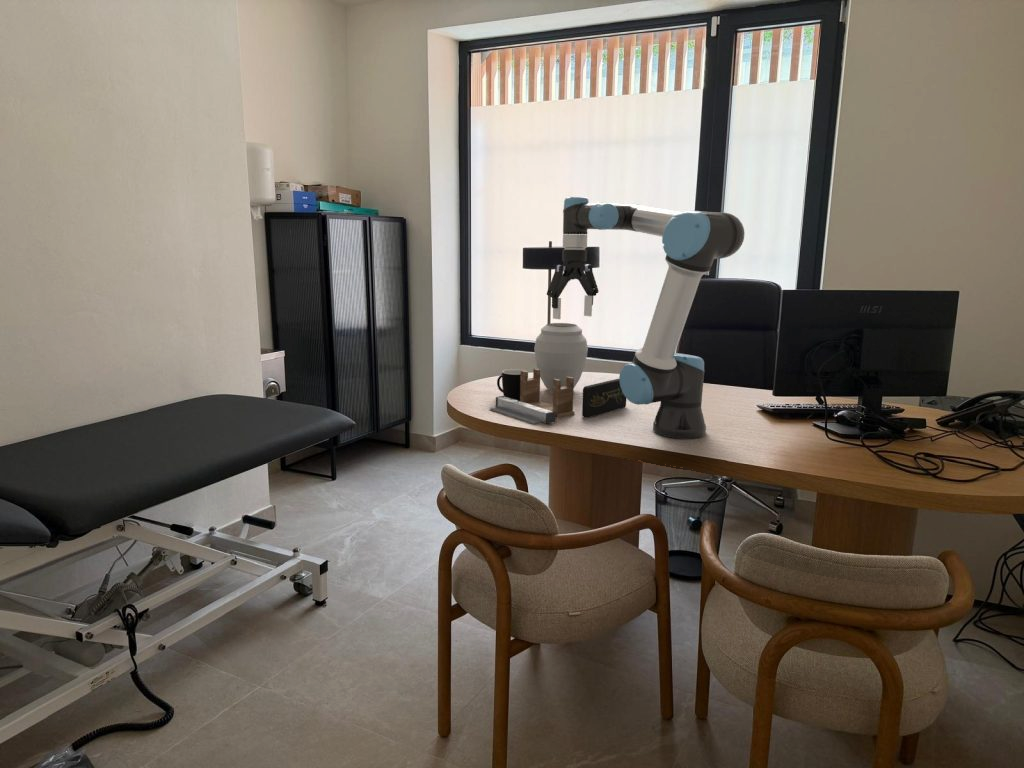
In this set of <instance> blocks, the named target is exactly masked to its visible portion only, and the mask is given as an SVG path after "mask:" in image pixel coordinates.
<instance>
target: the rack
mask: <svg viewBox="0 0 1024 768" xmlns="http://www.w3.org/2000/svg"><path fill="white" fill-rule="evenodd" d="M532 373H533V375H532V377H529V372H528V370H525V371H521V376H520V401H521V402H524V403H527V404H530V405H534V406H537V407H540V408H543V409H546V410H550V411H554V412H556V414H555V418H556V419H562V418H563V419H564V418H568V417H572V416H575V411H574V388H575V387H574V378H572V377H566V386H565V387H561V380H559V379H553V392H552V404H550V403H547V402H544V401H541V400H540V399H541V394H540V393H541V378H540V370H539V369H538V368H533V371H532ZM527 377H528V379H527Z"/></svg>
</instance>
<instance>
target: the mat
mask: <svg viewBox="0 0 1024 768" xmlns="http://www.w3.org/2000/svg"><path fill="white" fill-rule="evenodd" d="M489 411H492V412H495V413H498V414H501V415H503V416H507V417H509V418H513V419H515V420H518V421H521V422H525V423H528V424H531V425H533V426H536V425H540V424H546V423H545V422H542V421H539V420H536V419H533V418H530V417H527V416H524V415H521V414H518V413H515V412H512V411H509V410H506V409H503V408H500V407H496V406H495V407H494V406H493V407H490V408H489ZM555 421H557V418H556V417H555Z"/></svg>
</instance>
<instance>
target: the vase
mask: <svg viewBox="0 0 1024 768" xmlns="http://www.w3.org/2000/svg"><path fill="white" fill-rule="evenodd" d="M540 331H541V332H540V334H538V336H537V337H536V338H535V343H534V349H533V350H534V359H535V364H536V369H539V370H540V381H542V383H543V385H544V387H545V388H546V389H547V390H548V391H549V392H551V393H553V379H559V380H561V387H565V386H566V377H572V378H574V388H575V387H576V386H577V384H578V382H579V381H580V380H581V377H582V374H583V372H584V369H585V367H586V361H587V358H588V357H587V356H588V352H589V349H588V340H587V337H585V336H584V334H583V329H582V328H581V327H580V326H578V325H577V324H575V323H568V322H552V323H547V324H545V325H543V327H541V328H540Z"/></svg>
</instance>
